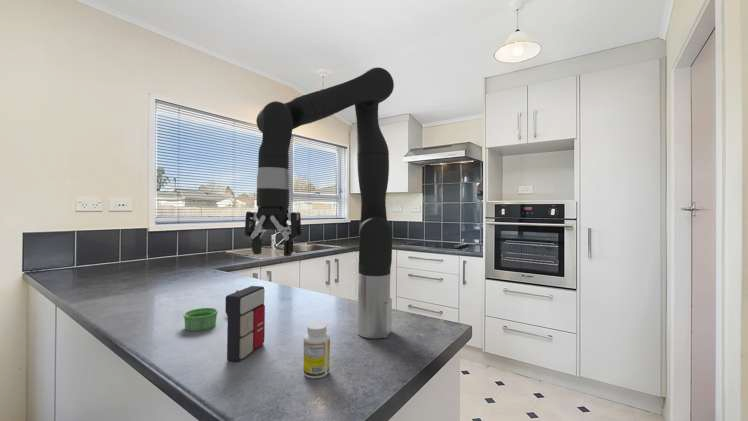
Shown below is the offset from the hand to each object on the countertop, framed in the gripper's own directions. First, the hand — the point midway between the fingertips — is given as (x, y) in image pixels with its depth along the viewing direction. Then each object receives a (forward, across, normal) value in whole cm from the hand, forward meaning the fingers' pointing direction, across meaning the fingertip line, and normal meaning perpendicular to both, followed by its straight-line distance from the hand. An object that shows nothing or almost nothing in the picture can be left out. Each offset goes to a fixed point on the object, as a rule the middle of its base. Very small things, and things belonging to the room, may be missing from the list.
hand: (272, 254), depth 78 cm
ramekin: (+24, +31, -9) cm, 40 cm away
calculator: (+24, +7, 0) cm, 25 cm away
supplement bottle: (+24, -14, +4) cm, 29 cm away
